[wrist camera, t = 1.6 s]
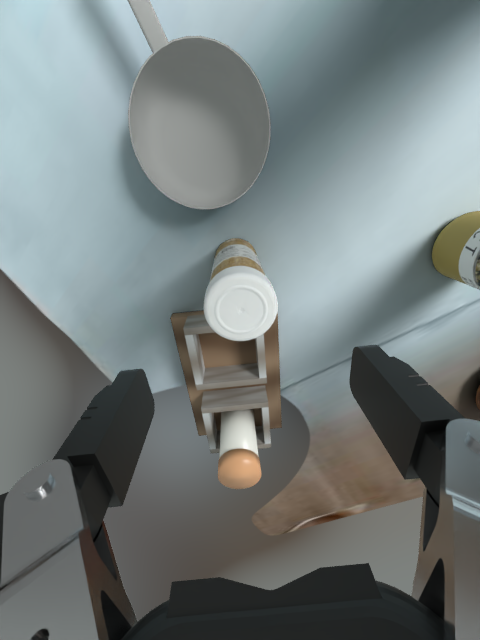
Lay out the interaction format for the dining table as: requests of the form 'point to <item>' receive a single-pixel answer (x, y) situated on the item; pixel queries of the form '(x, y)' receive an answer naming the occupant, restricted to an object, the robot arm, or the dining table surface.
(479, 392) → the cup and saucer
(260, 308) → the sprinkles bottle
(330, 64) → the dining table surface
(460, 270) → the paper tube
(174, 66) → the small pan
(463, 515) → the robot arm
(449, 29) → the dining table surface
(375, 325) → the dining table surface
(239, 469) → the white lotion bottle
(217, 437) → the board
